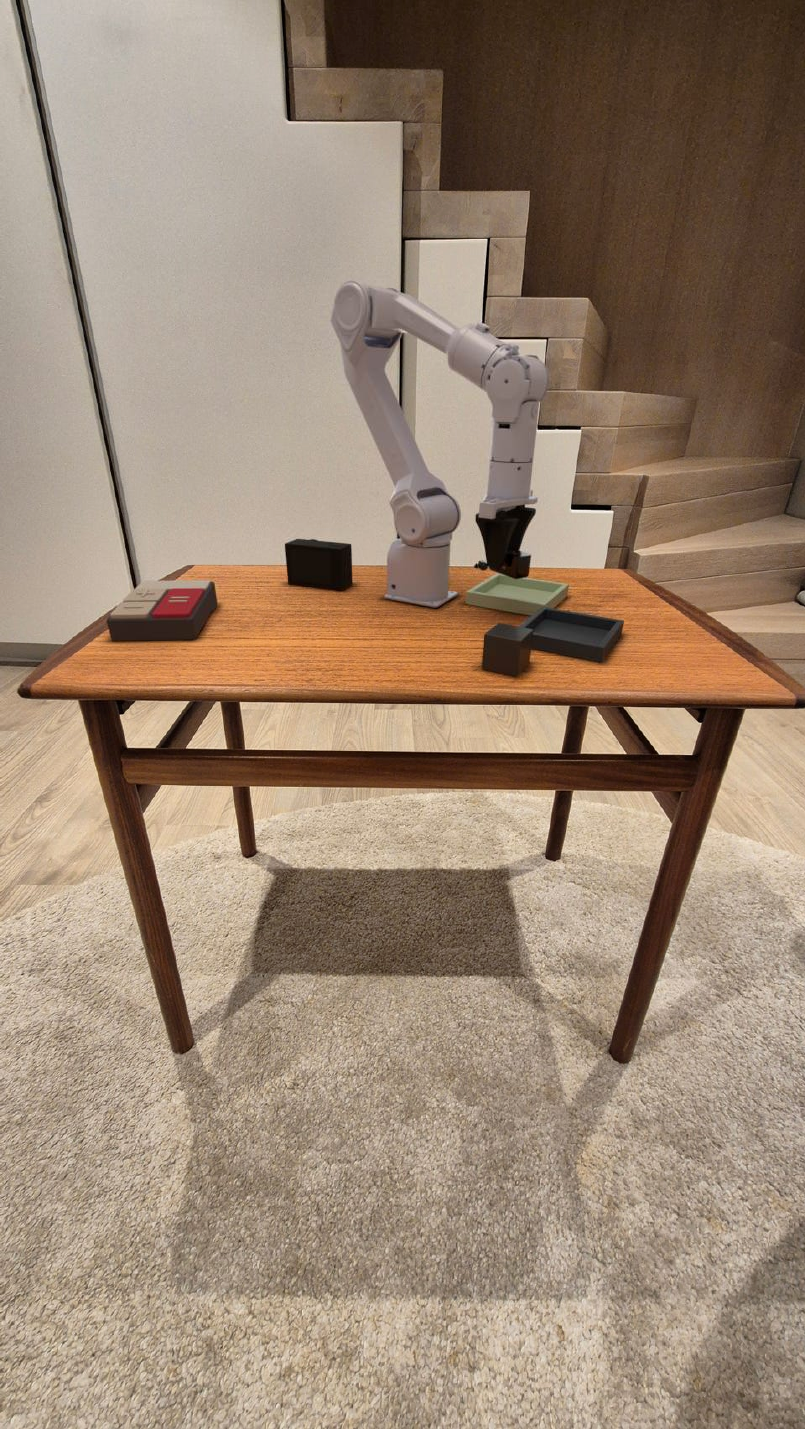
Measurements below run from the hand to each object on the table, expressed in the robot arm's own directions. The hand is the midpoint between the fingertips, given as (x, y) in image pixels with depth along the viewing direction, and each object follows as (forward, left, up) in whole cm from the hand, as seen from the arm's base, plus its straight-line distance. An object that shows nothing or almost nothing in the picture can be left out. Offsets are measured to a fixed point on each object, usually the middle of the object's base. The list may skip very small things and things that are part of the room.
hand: (501, 563), depth 86 cm
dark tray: (+12, -4, -8) cm, 15 cm away
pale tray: (0, +9, -8) cm, 12 cm away
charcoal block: (+8, -17, -8) cm, 21 cm away
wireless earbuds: (0, -1, -2) cm, 2 cm away
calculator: (-39, -27, -8) cm, 48 cm away
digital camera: (-32, 0, -8) cm, 33 cm away
